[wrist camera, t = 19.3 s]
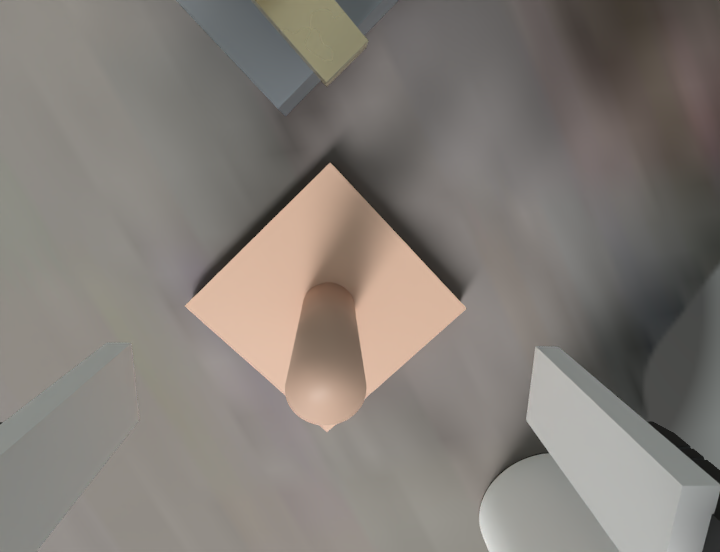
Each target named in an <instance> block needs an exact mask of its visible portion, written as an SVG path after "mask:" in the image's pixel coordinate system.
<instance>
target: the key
mask: <svg viewBox="0 0 720 552" xmlns="http://www.w3.org/2000/svg"><path fill="white" fill-rule="evenodd" d="M251 1H252V2H253V3H254V4H255V6H256V7H257V8H258V9H259V10H260V11H261V13H262V14H263V15H264V16H265V17H266V18H267V19H268V21H269V22H270V23H271V24H272V25H273V26H274V27H275V29H276V30H277V31H278V32H279V33H280V34H281V35H282V37H283V38H284V39H285V40H286V41H287V42H288V43H289V45H290V46H291V47H292V48H293V49H294V50H295V51H296V53H297V54H298V55H299V56H300V57H301V58H302V59H303V61H304V62H305V63H306V64H307V65H308V66H309V67H310V69H311V70H312V71H313V72H314V73H315V74H316V75H317V77H318V78H319V79H320V80H321V81H322V82H323V83H324V85H325V86H326V87H327V86H328V85H329V84H330V83H331V82H332V81H333V80H334V79H335V78H336V77H337V76H338V75H339V74H340V73H342V72H343V71H344V70H345V69H346V68H347V67H348V66H349V65H350V64H351V63H352V62H353V61H354V60H355V59H356V58H357V57H358V56H359V55H360V54H361V53H362V52H363V51H364V50H365V49H366V47H367V43H368V40H367V39H366V37H365V36H364V35H363V34H362V33H361V31H360V30H359V29H358V28H357V26H356V25H355V24H354V23H353V22H352V20H351V19H350V18H349V17H348V16H347V14H346V13H345V12H344V11H343V10H342V8H341V7H340V6H339V5H338V3H337V2H336V1H335V0H251Z"/></svg>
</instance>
